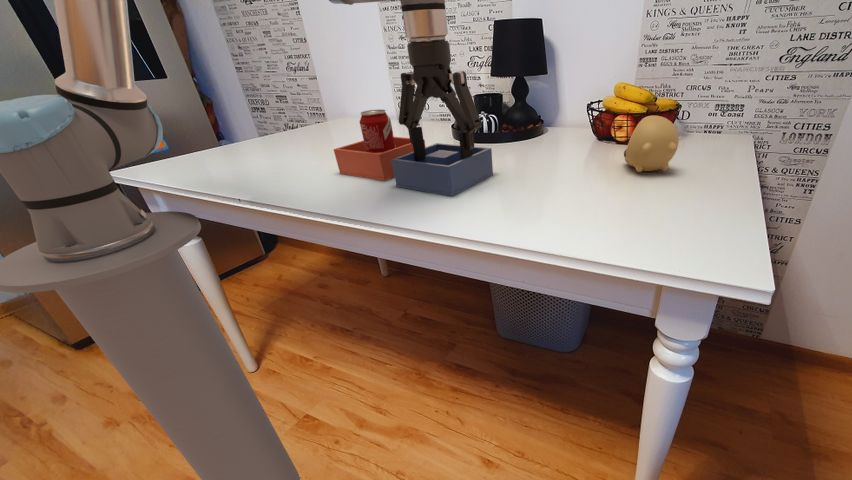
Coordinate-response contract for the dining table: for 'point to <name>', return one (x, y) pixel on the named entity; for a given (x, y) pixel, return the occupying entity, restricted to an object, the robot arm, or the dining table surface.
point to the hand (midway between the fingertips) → (443, 162)
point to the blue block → (443, 157)
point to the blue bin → (443, 171)
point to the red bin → (370, 159)
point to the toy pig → (652, 144)
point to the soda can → (377, 131)
